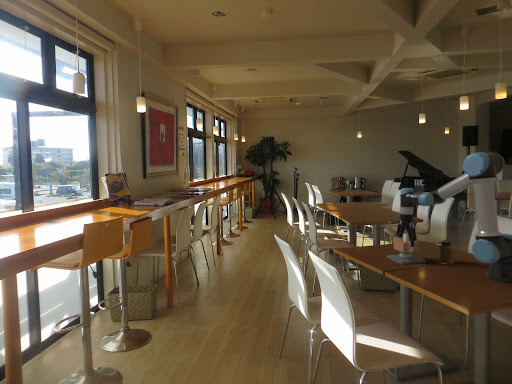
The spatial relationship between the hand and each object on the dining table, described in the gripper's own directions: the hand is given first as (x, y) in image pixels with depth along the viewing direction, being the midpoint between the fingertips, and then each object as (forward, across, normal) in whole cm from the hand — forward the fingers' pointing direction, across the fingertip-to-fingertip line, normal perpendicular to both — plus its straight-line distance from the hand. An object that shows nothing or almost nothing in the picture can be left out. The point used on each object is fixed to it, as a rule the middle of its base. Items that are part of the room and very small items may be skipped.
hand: (405, 249), depth 228 cm
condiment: (+7, -9, -20) cm, 23 cm away
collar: (0, 0, 0) cm, 0 cm away
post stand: (+6, 0, 0) cm, 6 cm away
